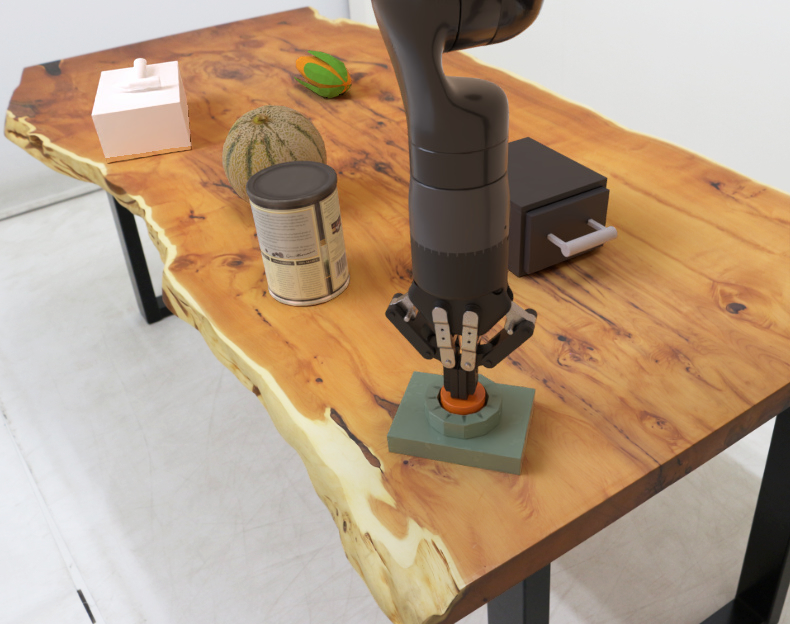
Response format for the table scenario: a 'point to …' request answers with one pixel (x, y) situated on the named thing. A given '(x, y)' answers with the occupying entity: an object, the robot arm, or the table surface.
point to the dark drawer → (566, 229)
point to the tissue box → (141, 109)
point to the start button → (464, 402)
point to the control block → (464, 425)
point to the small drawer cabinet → (540, 187)
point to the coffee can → (300, 231)
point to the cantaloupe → (269, 143)
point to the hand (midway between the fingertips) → (461, 392)
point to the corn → (324, 74)
